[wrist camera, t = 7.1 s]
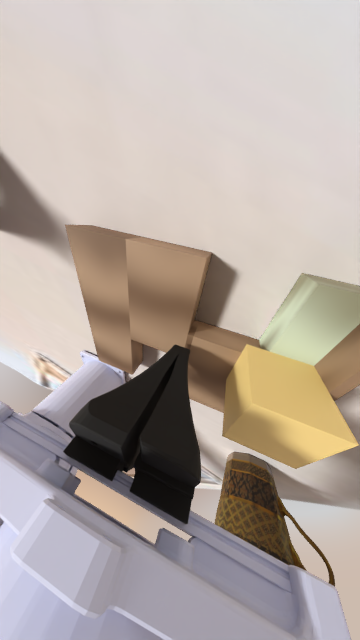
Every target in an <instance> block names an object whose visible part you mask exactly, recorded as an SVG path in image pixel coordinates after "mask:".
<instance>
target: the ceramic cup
mask: <svg viewBox="0 0 360 640" xmlns="http://www.w3.org/2000/svg"><path fill="white" fill-rule="evenodd" d="M285 515H286V516H288V517H289V518H290V519H291V520H292V521H293V523H294V524H295V526H296V527H297V529H298V530H299V532H300V533H301V534H302V535H303V536H304V538H305V539H306V540H307V541H308V542H309V543H310V544H311V545H312V547H313V548H314V549H315V550H316V551H317V552H318V554H319V555H320V556H321V557H322V559H323V560H324V562H325V564H326V566H327V569H328V572H329V584H331V585H333V586H334V587H335V580H334V575H333V571H332V569H331V567H330V565H329V563H328V561H327V559H326V558H325V556H324V554H323V553H322V552H321V550H320V549H319V548H318V547H317V546H316V544H315V543H314V542H313V541H312V540H311V539H310V538H309V537H308V536H307V535H306V534H305V532H304V531H303V530H302V529H301V528H300V526H299V525H298V523H297V522H296V521H295V519H294V518H293V517H292V515H290V513H289V512H288V511H287V510H286V508H285V507H284V505H283V503H282V501H281V499H280V498H279V497H278V493H277V490H276V487H275V483H274V479H273V475H272V471H271V469H270V467H269V466H268V464H267V463H266V462H265V461H263V460H261V459H259V458H257V457H255V456H252V455H250V454H246V453H239V452H233V453H231V454H230V455H228V457H227V463H226V468H225V473H224V479H223V484H222V489H221V496H220V500H219V505H218V508H217V513H216V519H215V525H217V526H219V527H221V528H223V529H224V530H226V531H228V532H230V533H231V534H233V535H235V536H237V537H239V538H240V539H242V540H244V541H246V542H248V543H249V544H251V545H253V546H255V547H256V548H258V549H260V550H262V551H264V552H265V553H267V554H269V555H271V556H273V557H274V558H276V559H278V560H280V561H281V562H283V563H285V564H287V565H294V566H297V567H299V568H302V569H304V570H306V569H305V568H304V566H303V565H302V563H301V561H300V558H299V556H298V554H297V553H296V551H295V549H294V547H293V545H292V543H291V540H290V536H289V533H288V529H287V526H286V522H285V519H284V516H285ZM306 571H307V570H306Z"/></svg>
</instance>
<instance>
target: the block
mask: <svg viewBox="0 0 360 640" xmlns="http://www.w3.org/2000/svg"><path fill="white" fill-rule="evenodd" d="M222 436H223V437H226V438H228V439H230V440H232V441H234V442H237V443H239V444H241V445H243V446H246V447H248V448H250V449H252V450H255V451H257V452H259V453H261V454H263V455H266V456H268V457H270V458H272V459H275V460H277V461H279V462H281V463H284V464H286V465H288V466H290V467H292V468H295V469H297V468H299V467H302V466H305V465H307V464H310V463H313V462H316V461H318V460H321V459H324V458H326V457H329V456H332V455H334V454H337V453H340V452H342V451H345V450H348V449H350V448H353V447H356V446H358V445H359V444H358V443H357V441H356V439H355V437H354V436H353V434H352V432H351V430H350V428H349V427H348V425H347V423H346V421H345V420H344V418H343V416H342V414H341V413H340V411H339V409H338V407H337V406H336V404H335V402H334V400H333V399H332V397H331V395H330V393H329V391H328V390H327V388H326V386H325V384H324V383H323V381H322V379H321V377H320V376H319V374H318V372H317V370H316V369H315V367H314V366H313V365H310V364H306V363H303V362H300V361H297V360H294V359H291V358H288V357H285V356H282V355H279V354H276V353H273V352H270V351H267V350H263V349H260V348H257V347H254V346H251V345H248V344H246V346H245V348H244V350H243V351H242V353H241V355H240V356H239V358H238V360H237V362H236V363H235V365H234V367H233V369H232V370H231V372H230V374H229V375H228V377H227V379H226V390H225V404H224V419H223V434H222Z"/></svg>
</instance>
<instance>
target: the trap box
mask: <svg viewBox="0 0 360 640" xmlns="http://www.w3.org/2000/svg"><path fill="white" fill-rule="evenodd" d="M65 227H66V231H67V235H68V239H69V243H70V247H71V251H72V255H73V259H74V263H75V267H76V271H77V275H78V279H79V283H80V287H81V291H82V295H83V299H84V303H85V307H86V311H87V315H88V319H89V323H90V327H91V331H92V335H93V339H94V343H95V347H96V351H97V355H98V359H99V361H101V362H104V363H106V364H108V365H111V366H113V367H115V368H118V369H120V370H123V371H125V372H127V373H130V374H132V375H133V373H134V372H135V371H136V369H137V368H138V366H139V365H140V364H141V362H142V361H143V344H145V345H147V346H150V347H153V348H155V349H158V350H161V351H163V352H166V353H167V352H168V351H169V350H170V349H171V348H172V347H173V346H174V345H175V344H176V345H179V346H181V347H184V348H187V349H190V355H189V360H188V391H189V399H192V400H194V401H196V402H199V403H201V404H204V405H206V406H208V407H211V408H213V409H215V410H218V411H220V412H223V413H224V404H225V390H226V379H227V377H228V375H229V374H230V372H231V370H232V369H233V367H234V365H235V363H236V362H237V360H238V358H239V356H240V355H241V353H242V351H243V350H244V348H245V346H246V344H248V345H251V346H254V347H257V348H260V349H263V350H267V351H270V352H273V353H276V354H279V355H282V356H285V357H288V358H291V359H294V360H297V361H300V362H303V363H306V364H310V365H313V366H314V367H315V369H316V370H317V372H318V374H319V376H320V377H321V379H322V381H323V383H324V384H325V386H326V388H327V390H328V391H329V393H330V395H331V397H332V399H333V400H334V401H335V400H337V399H338V398H340V397H342V396H343V395H345V394H346V393H348V392H349V391H351V390H352V389H354V388H355V387H357V386H359V385H360V286H357V285H353V284H348V283H344V282H340V281H335V280H331V279H326V278H322V277H317V276H313V275H309V274H304V273H302V274H301V275H300V277H299V279H298V280H297V282H296V283H295V285H294V286H293V288H292V290H291V291H290V293H289V294H288V296H287V297H286V299H285V301H284V302H283V304H282V305H281V307H280V308H279V310H278V312H277V313H276V315H275V316H274V318H273V319H272V321H271V323H270V324H269V326H268V327H267V329H266V330H265V332H264V334H263V335H262V337H261V338H260V340H257V339H254V338H250V337H247V336H244V335H241V334H238V333H235V332H232V331H228V330H225V329H222V328H219V327H216V326H213V325H209V324H206V323H203V322H200V321H197V320H195V316H196V312H197V309H198V305H199V301H200V297H201V293H202V290H203V286H204V282H205V278H206V274H207V270H208V267H209V263H210V259H211V255H212V253H211V252H207V251H203V250H198V249H194V248H189V247H185V246H180V245H176V244H172V243H167V242H163V241H158V240H154V239H150V238H145V237H141V236H136V235H132V234H127V233H123V232H119V231H114V230H110V229H105V228H101V227H96V226H92V225H65Z"/></svg>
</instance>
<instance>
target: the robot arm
mask: <svg viewBox="0 0 360 640" xmlns="http://www.w3.org/2000/svg"><path fill="white" fill-rule="evenodd" d="M80 355H81V358H82V361H83V363H84V365H83V366H81V367H80V368H79V369H78V370H77V371H76V372H75V373H73V374H72V375H71V376H70V377H69V378H68V379H67V380H66V381H64V382H63V383H62V384H61V385H60V386H59V387H58V388H57V389H55V390H54V391H53V392H52V393H51V394H50V395H49V396H47V397H46V398H45V399H44V400H43V401H42V402H41V403H40V404H38V405H37V406H36V407H35V408H34V409H33V410H32V411H31V412H28V413H26V414H25V415H24V416H23V414H22V413H20V412H19V413H15V412H14V411H13V409H11V407H9V406H8V405H6V404H5V403H3V402H1V401H0V640H351V637H350V634H349V630H348V627H347V624H346V619H345V616H344V612H343V609H342V605H341V602H340V598H339V594H338V591H337V590H336V588H335V587H334V586H333V585H331V584H329V583H327V582H326V581H324V580H322V579H320V578H318V577H317V576H315V575H313V574H311V573H309V572H308V571H306V570H304V569H302V568H299V567H297V566H294V565H287V564H285V563H283V562H281V561H280V560H278V559H276V558H274V557H273V556H271V555H269V554H267V553H265V552H264V551H262V550H260V549H258V548H256V547H255V546H253V545H251V544H249V543H248V542H246V541H244V540H242V539H240V538H239V537H237V536H235V535H233V534H231V533H230V532H228V531H226V530H224V529H223V528H221V527H219V526H217V525H215V524H214V523H212V522H210V521H208V520H206V519H205V518H203V517H201V516H199V515H198V514H196V513H194V512H192V511H190V507H191V501H192V499H193V494H194V489H195V487H196V486H197V485H198V484H199V483H200V480H201V461H200V450H199V446H198V442H197V438H196V433H195V429H194V424H193V419H192V413H191V407H190V400H189V391H188V360H189V355H190V349H187V348H184V347H181V346H179V345H176V344H175V345H174V346H173V347H172V348H171V349H170V350H169V351H168V352H167V353H166V354H165V355H164V356H163V357H162V358H160V359H159V360H158V361H157V362H156V363H155V364H153V365H152V366H151V367H149V368H148V369H147V370H145V371H144V372H142V373H141V374H140V375H138V376H136V377H135V378H133V379H132V380H130V381H128V382H125V373H124V371H123V370H120V369H118V368H115V367H113V366H111V365H108V364H106V363H104V362H101V361H99V359H98V357H97V356H95V355H92V354H90V353H88V352H85V351H81V352H80ZM133 467H134V468H135V476H134V479H133V478H132V477H130V476H128V475H126V474H124V473H123V472H122V471H125V472H127V471H128V470H130V469H132V468H133ZM78 469H79V470H80V471H82V472H84V473H86V474H87V475H89V476H91V477H92V478H94V479H96V480H97V481H99V482H101V483H102V484H104V485H106V486H107V487H109V488H111V489H113V490H115V491H116V492H118V493H119V494H121V495H123V496H124V497H126V498H128V499H129V500H131V501H133V502H134V503H136V504H138V505H140V506H141V507H143V508H145V509H146V510H148V511H150V512H151V513H153V514H155V515H157V516H158V517H160V518H162V519H163V520H165V521H167V522H168V523H170V524H172V525H174V526H175V527H177V528H178V529H180V530H182V531H184V532H185V533H187V534H189V535H190V536H192V537H191V538H190V539H189V540H188V542H187V541H186V540H184V539H182V538H180V537H179V536H177V535H175V534H173V533H171V532H170V531H168V530H166V529H164V528H163V529H159V532H158V536H157V540H156V543H155V544H154V543H152V542H150V541H149V540H147V539H146V538H144V537H143V536H141V535H140V534H138V533H136V532H135V531H133V530H132V529H130V528H129V527H127V526H126V525H124V524H122V523H121V522H119V521H118V520H116V519H114V518H113V517H111V516H110V515H108V514H106V513H105V512H103V511H102V510H100V509H98V508H97V507H95V506H93V505H92V504H90V503H89V502H87V501H86V500H84V499H82V498H80V497H79V496H77V495H76V494H74V493H75V490H76V489H77V487H78V485H79V484H80V482H81V480H80V479H79V478H77V477H76V476H75V475H76V473H77V470H78Z"/></svg>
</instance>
